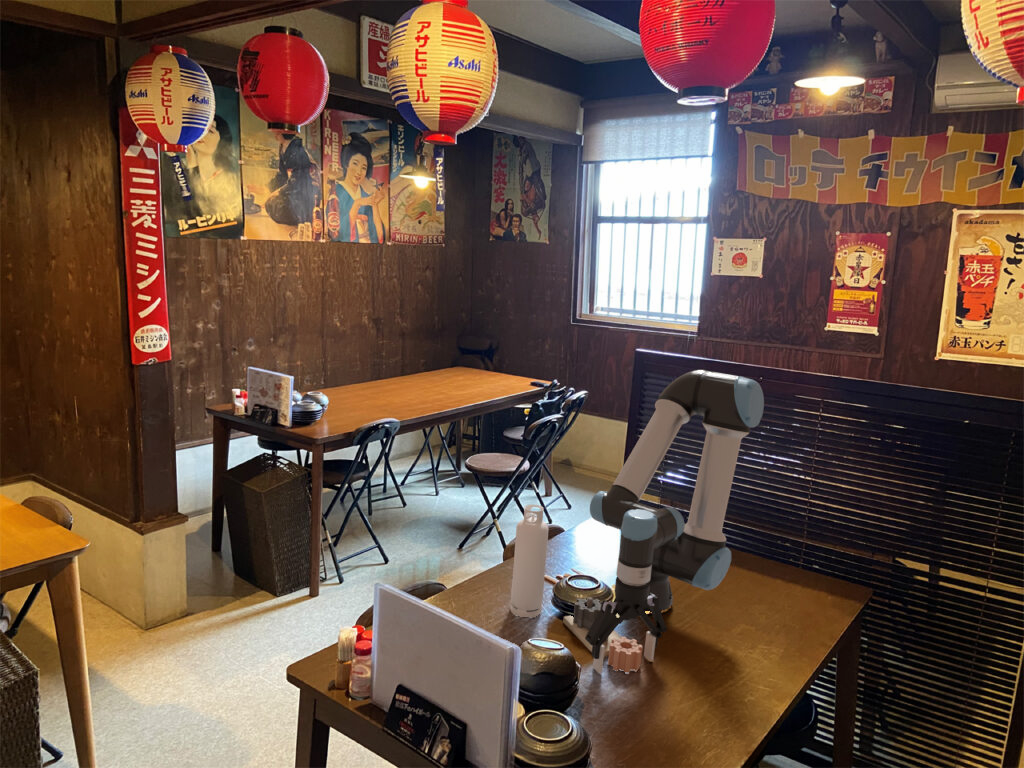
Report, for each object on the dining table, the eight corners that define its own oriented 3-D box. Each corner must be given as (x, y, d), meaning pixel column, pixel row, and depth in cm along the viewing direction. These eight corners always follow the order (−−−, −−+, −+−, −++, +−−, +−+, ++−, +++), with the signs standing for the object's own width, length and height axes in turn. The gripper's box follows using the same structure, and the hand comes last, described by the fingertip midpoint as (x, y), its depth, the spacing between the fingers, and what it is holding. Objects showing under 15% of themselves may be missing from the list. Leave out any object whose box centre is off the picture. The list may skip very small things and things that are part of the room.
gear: (628, 654, 173) (630, 634, 172) (645, 670, 167) (648, 651, 166) (602, 659, 170) (604, 639, 169) (619, 676, 164) (621, 656, 163)
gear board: (594, 616, 189) (596, 588, 188) (630, 652, 174) (633, 621, 173) (563, 622, 186) (565, 592, 184) (597, 658, 170) (600, 627, 169)
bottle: (545, 606, 193) (554, 505, 187) (536, 621, 185) (544, 516, 180) (516, 599, 195) (523, 500, 190) (506, 613, 188) (513, 510, 182)
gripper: (593, 594, 156) (583, 684, 160) (689, 579, 166) (677, 664, 170) (575, 578, 162) (567, 665, 166) (669, 565, 173) (658, 647, 177)
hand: (623, 665), depth 168 cm, fingers open, 13 cm apart
